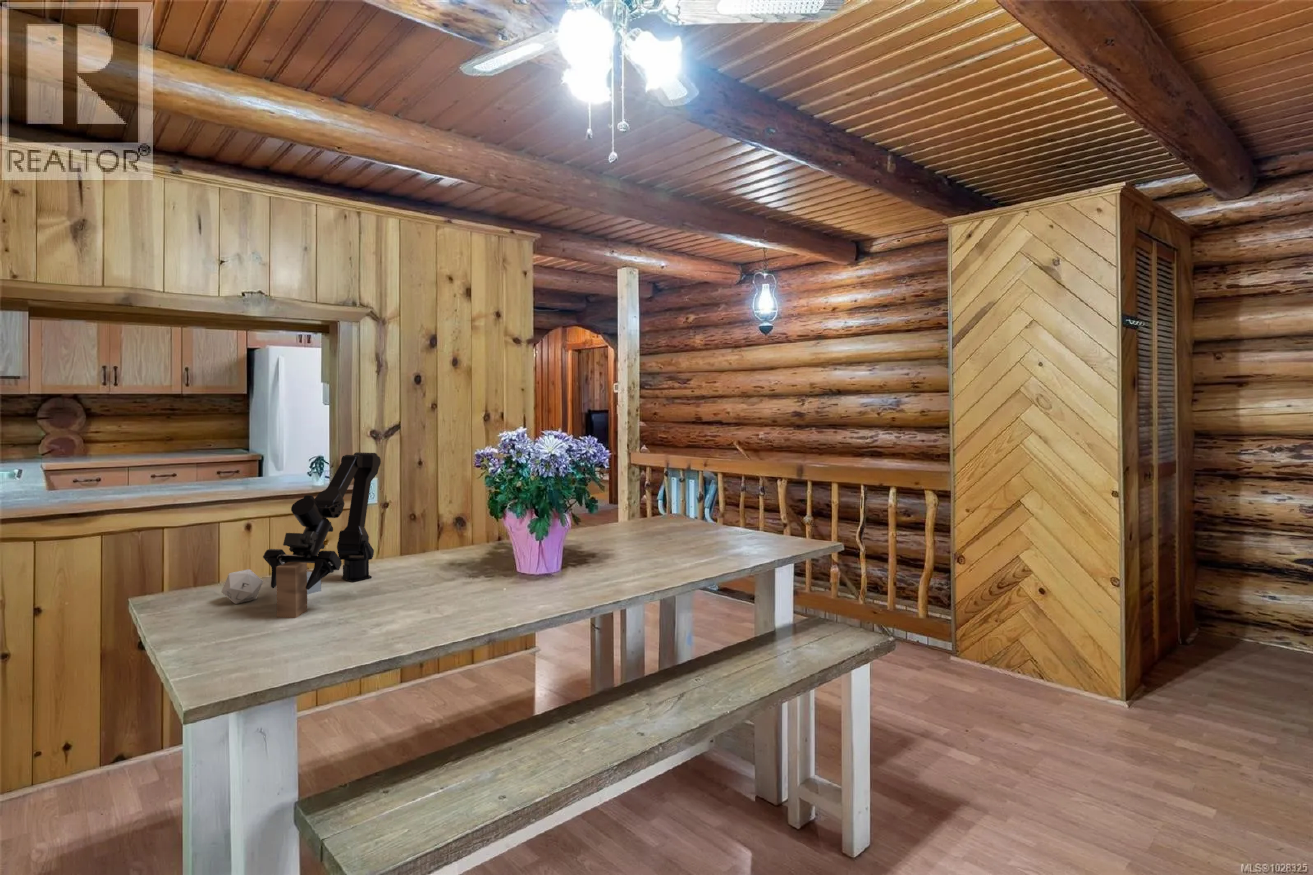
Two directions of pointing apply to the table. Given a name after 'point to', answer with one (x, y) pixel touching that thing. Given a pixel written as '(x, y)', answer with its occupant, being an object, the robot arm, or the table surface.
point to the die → (242, 586)
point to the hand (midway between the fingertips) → (289, 588)
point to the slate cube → (316, 587)
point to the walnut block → (291, 589)
